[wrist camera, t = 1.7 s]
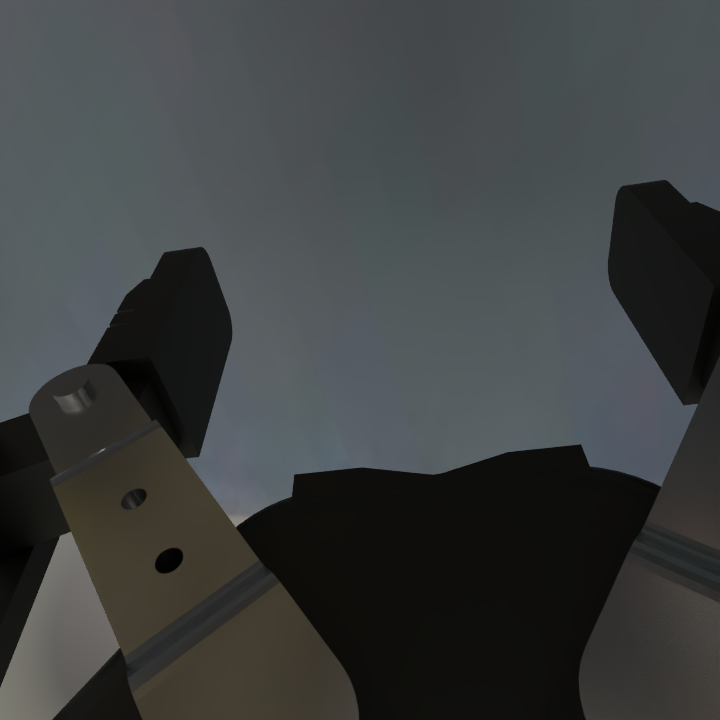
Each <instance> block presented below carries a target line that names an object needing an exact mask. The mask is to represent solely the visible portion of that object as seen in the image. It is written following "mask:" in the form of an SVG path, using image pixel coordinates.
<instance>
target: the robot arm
mask: <svg viewBox="0 0 720 720" xmlns="http://www.w3.org/2000/svg"><path fill="white" fill-rule="evenodd" d="M608 275H609V281H610V285H611V288H612V291H613V293H614V294H615V296H616V298H617V299H618V301H619V302H620V304H621V306H622V307H623V309H624V310H625V312H626V314H627V315H628V317H629V319H630V320H631V322H632V323H633V325H634V327H635V328H636V330H637V331H638V333H639V335H640V336H641V338H642V339H643V341H644V343H645V344H646V346H647V348H648V349H649V351H650V352H651V354H652V356H653V357H654V359H655V360H656V362H657V364H658V365H659V367H660V368H661V370H662V372H663V373H664V375H665V376H666V378H667V380H668V381H669V383H670V385H671V386H672V388H673V389H674V391H675V393H676V394H677V396H678V397H679V399H680V401H681V402H682V404H683V405H690V404H698V406H697V408H696V410H695V412H694V415H693V417H692V419H691V421H690V424H689V426H688V428H687V430H686V433H685V435H684V437H683V439H682V442H681V444H680V446H679V448H678V451H677V453H676V455H675V457H674V460H673V462H672V464H671V466H670V469H669V471H668V473H667V475H666V478H665V480H664V482H663V484H662V487H660V486H658V485H656V484H654V483H651V482H649V481H646V480H644V479H641V478H639V477H636V476H633V475H629V474H626V473H622V472H619V471H614V470H609V469H604V468H598V467H590V466H589V464H588V461H587V458H586V456H585V453H584V451H583V448H582V446H581V445H572V446H562V447H553V448H543V449H534V450H524V451H515V452H507V453H504V454H501V455H498V456H495V457H492V458H488V459H485V460H482V461H479V462H476V463H473V464H470V465H467V466H464V467H460V468H457V469H454V470H451V471H448V472H445V473H441V474H434V475H431V474H419V473H410V472H400V471H391V470H381V469H371V468H353V469H344V470H334V471H325V472H315V473H306V474H296V475H294V483H293V492H292V497H290V498H287V499H284V500H281V501H279V502H277V503H275V504H272V505H270V506H268V507H266V508H264V509H263V510H261V511H259V512H257V513H256V514H254V515H252V516H251V517H249V518H248V519H247V520H245V521H244V522H242V523H241V524H239V525H238V526H237V527H235V526H234V525H233V523H232V522H231V520H230V519H229V518H228V516H227V515H226V514H225V512H224V511H223V509H222V508H221V507H220V505H219V504H218V503H217V501H216V500H215V499H214V497H213V496H212V494H211V493H210V492H209V490H208V489H207V488H206V486H205V485H204V484H203V482H202V481H201V479H200V478H199V477H198V475H197V474H196V473H195V471H194V470H193V469H192V467H191V466H190V464H189V463H188V462H187V460H186V459H185V458H193V457H199V455H200V452H201V448H202V445H203V441H204V438H205V434H206V430H207V427H208V423H209V420H210V416H211V412H212V409H213V405H214V402H215V398H216V395H217V391H218V387H219V384H220V380H221V377H222V373H223V370H224V366H225V362H226V359H227V355H228V352H229V348H230V345H231V341H232V323H231V317H230V313H229V310H228V307H227V304H226V302H225V299H224V296H223V293H222V291H221V288H220V285H219V282H218V279H217V277H216V274H215V271H214V268H213V266H212V263H211V260H210V258H209V255H208V253H207V252H206V250H205V249H204V248H202V247H197V248H191V249H184V250H177V251H170V252H165V253H164V254H163V255H162V257H161V259H160V261H159V263H158V265H157V266H156V268H155V270H154V272H153V274H152V276H151V278H150V279H145V280H143V281H142V282H141V283H139V284H138V285H137V286H136V287H135V288H134V289H133V290H131V291H130V292H129V293H128V294H127V295H126V296H125V298H124V300H123V301H122V303H121V305H120V307H119V308H118V310H117V313H118V314H115V316H114V317H113V319H112V321H111V323H110V327H109V328H107V330H106V331H105V333H104V335H103V337H102V338H101V340H100V342H99V344H98V346H97V347H96V349H95V351H94V353H93V354H92V356H91V358H90V360H89V361H88V363H87V365H83V366H79V367H76V368H73V369H70V370H68V371H66V372H63V373H62V374H60V375H58V376H56V377H54V378H53V379H51V380H50V381H49V382H47V383H46V384H45V385H44V386H43V387H41V388H40V389H39V390H38V392H37V393H36V394H35V395H34V397H33V399H32V400H31V403H30V405H29V413H28V414H25V415H22V416H19V417H16V418H13V419H10V420H7V421H4V422H1V423H0V686H1V684H2V682H3V679H4V676H5V674H6V671H7V669H8V666H9V664H10V661H11V659H12V656H13V654H14V651H15V649H16V646H17V643H18V641H19V639H20V636H21V633H22V631H23V628H24V626H25V623H26V621H27V618H28V616H29V613H30V611H31V608H32V606H33V603H34V601H35V598H36V596H37V593H38V590H39V588H40V585H41V583H42V580H43V578H44V575H45V573H46V570H47V568H48V565H49V563H50V560H51V557H52V555H53V553H54V550H55V547H56V545H57V542H58V540H59V537H60V535H63V534H66V533H68V532H72V535H73V537H74V539H75V542H76V544H77V546H78V549H79V551H80V554H81V556H82V558H83V561H84V563H85V565H86V568H87V570H88V572H89V575H90V577H91V580H92V582H93V584H94V587H95V589H96V591H97V594H98V596H99V599H100V601H101V603H102V606H103V608H104V610H105V613H106V615H107V617H108V620H109V622H110V625H111V627H112V629H113V631H114V634H115V636H116V639H117V641H118V643H119V646H120V648H119V649H118V650H117V652H116V653H115V654H114V655H113V656H112V657H111V658H110V659H109V660H108V661H107V662H106V663H105V664H104V665H103V667H101V669H100V670H99V671H98V672H97V673H96V674H95V675H94V676H93V677H92V678H91V679H90V680H89V681H88V682H87V683H86V684H85V686H84V687H83V688H82V689H81V690H80V691H79V692H78V693H77V694H76V695H75V696H74V697H73V698H72V699H71V700H70V701H69V703H68V704H67V705H66V706H65V707H64V708H63V709H62V710H61V711H60V712H59V713H58V714H57V715H56V716H55V717H54V719H52V720H720V211H717V210H715V209H712V208H710V207H708V206H705V205H703V204H701V203H698V202H693V203H690V202H689V201H688V200H687V199H686V198H685V197H684V196H683V195H681V194H680V193H679V192H678V191H677V190H676V189H675V188H674V187H673V186H672V185H671V184H670V183H669V182H668V181H666V180H661V181H654V182H647V183H640V184H634V185H627V186H622V187H621V188H620V189H619V191H618V193H617V197H616V202H615V209H614V218H613V226H612V234H611V242H610V250H609V258H608Z"/></svg>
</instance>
